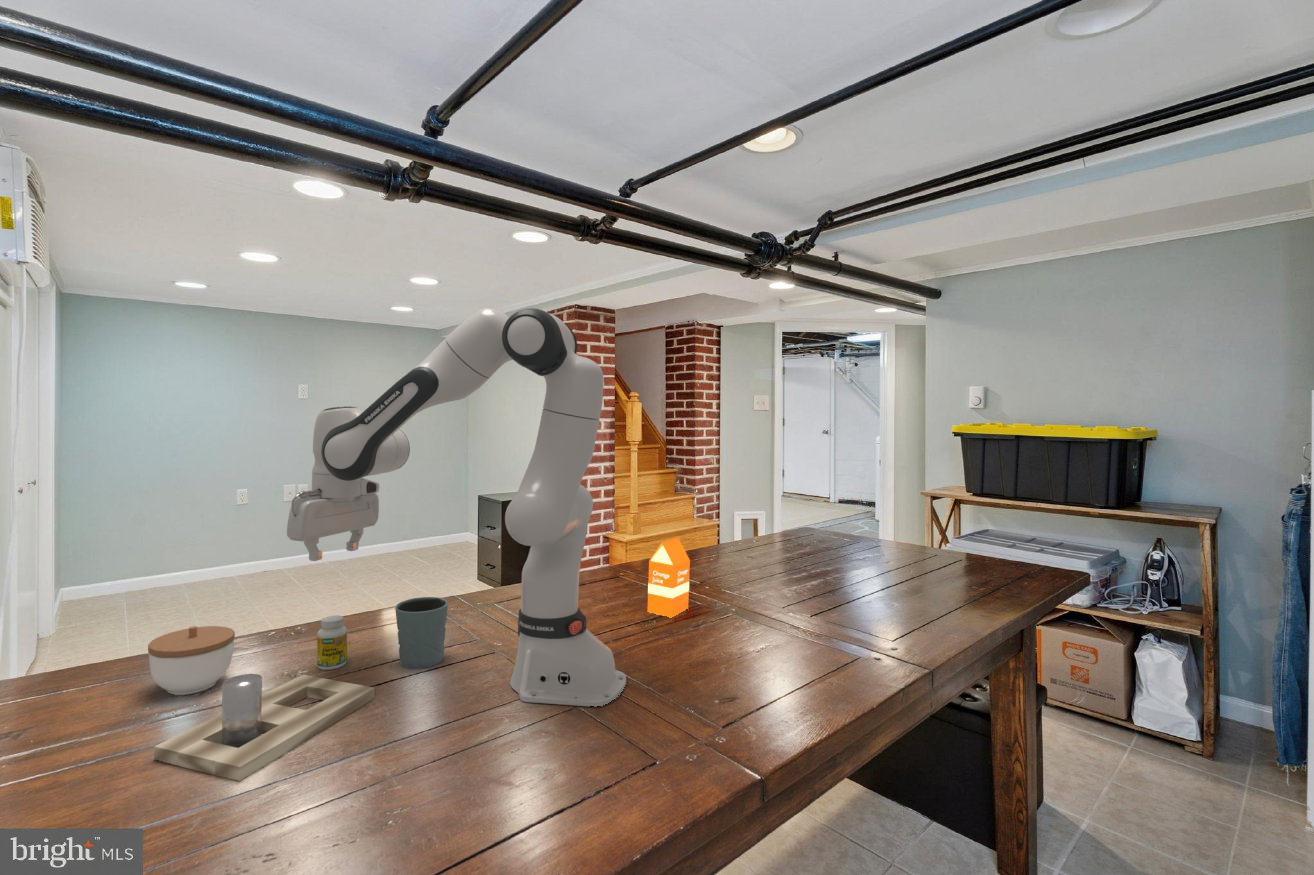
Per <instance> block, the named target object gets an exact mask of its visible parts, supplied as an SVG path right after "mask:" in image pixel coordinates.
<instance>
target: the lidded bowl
mask: <svg viewBox="0 0 1314 875" xmlns="http://www.w3.org/2000/svg"><path fill="white" fill-rule="evenodd" d="M235 636H236V633H235V630H234V629H233V628H230V627H227V626H220V625H219V626H218V625H216V626H215V625H211V626H210V625H207V626H194V625H193V626H189V627H188V628H185V629H180V630H176V631H172V632H169V633H165V634H163V635H160V636H158V637H156V638H154V639H153V640H151V641H150V642H149V643H148V646H147V653H148V664H149V670H150V671H149V672H150V674H151V677H152V679H153V680H154V683H156V684H157V686H159V687H160V688H162V689H163V690H166V691H167V694H169V693H171V694H174V695H173V696H186V695H193V694H199V693H201V692H204V691H206V690H209V689H211V688H212V687H214V686H215V685H216V684H217V681H218V680H220V679H221V678H222V677H223V676H224V675H225V673H226V672H227V670H228V669H229V667H230V664H231V662H232V658H233V654H234V649H235V647H234V645H235V644H234V643H235V642H234V641H235ZM171 694H170V695H171Z"/></svg>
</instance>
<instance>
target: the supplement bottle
mask: <svg viewBox="0 0 1314 875" xmlns="http://www.w3.org/2000/svg"><path fill="white" fill-rule="evenodd" d="M320 627H321V628H320V629H319V630H318V631H317V633H316V634H317V635H316V667H317V668H318V669H319V670H321V671H330V670H331V671H332V670H336V669H339V668H341V667H344V666H345V665H346V664H347V661H348V660H347V659H348V629H347V627H346V626H344V616H342V615H338V614H337V615H329V616H325V617H323V618H321V619H320Z"/></svg>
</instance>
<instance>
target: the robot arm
mask: <svg viewBox="0 0 1314 875" xmlns="http://www.w3.org/2000/svg"><path fill="white" fill-rule="evenodd" d="M577 341H578V340H577V338H576V335H575V333H574V331H573V330H572V328H571V327H570V326H568V324H566V323H565V322H564V321H563V320H562V319H560V318H559V317H557V316H556V315H554V314H552V313H551V312H547V311H545V310H542V309H539V308H535V307H534V308H531V307H530V308H523V309H521V310H518V311H515V312H514V313H513V314H511V315H510V316H508V315H507V314H506V313H505V312H503V311H501V310H499V309H497V308H494V307H483V308H481V309H479V310H478V311H476V312H474V313H473V314H472V315H470V316H469V317H468V318H466V319H465V320H463V322H461V323H460V324H459V325H458V326H456V328H454V329H453V330H452V331H451V332H450V333H449V334H448V335H447V336H446V337H445V338H444V339H443V340H442V341H441V342H440V343H439V344H438V345H437V346H436V347H434V349H433V350H432V351H431V352H430V353H429V354H428V355H427V356H426V357H425V358H424V359H423V360H421V361H420V363H418V364H417V365H415V367H413V368H412V369H411V370H410V371H409V372H407V373H406V374H405V375H404V376H402V377H401V378H400V379H399V380H397V381H396V382H395V383H394V384H393V385H392V386H390V387H389V388H388V389H387V390H386V391H385V392H383V394H381V395H380V396H379V397H377V399H375V401H373V403H371V404H370V405H369V406H368V407H367V408H365V410H364V411H363V410H362V409H360V408H359V407H356V406H336V407H335V406H334V407H329V408H324V409H323V410H321V411H320V412H319V413H318V415H317V416H316V420H315V423H314V428H313V439H312V441H313V442H312V454H313V455H314V464H313V467H312V469H311V470H312V471H311V490H307V491H306V490H303V491H299V492H298V493H297V495H295V496H294V498H292V499H291V506H290V509H289V513H288V518H287V524H286V525H287V526H286V535H287V536H286V537H287V538H288V539H289V540H290V541H294V542H295V541H297V542H303V545H304V546H305V548H306V549H307V551H308V559H309V561H310V562H317V561H321V560H322V559H323V550H319V548H318V545H317V544H320V538H325V537H329V536H334V535H337V534H338V535H339V534H342V533H346V532H350V533H351V534H350V538H349V541H346V544H345V545H346V548H345V550H346V551H348V552H354V551H357V550H359V544H360V543H359V542H360V541H361V538H362V537H363V534H364V528H369V527H373V526H376V524H377V522H378V521H379V515H380V514H379V512H380V500H379V495H378V494H377V493H379V491H380V483H379V482H376V481H373V480H370V479H367V478H365V477H368V476H369V477H370V476H376V475H381V474H385V473H386V474H387V473H392V472H394V471H396V470H399V469H401V468H402V467H403V466H404V465H406V462H407V461H408V460H409V456H410V454H411V453H410V451H411V447H410V441H409V439H408V437H407V435H406V434H405V433H404V432H403V431H402V430H401V428H402V427H403V426H404V425H405V424H406V423H408V421H410V419H412V418H413V417H414V416H416V414H418V413H421V412H422V411H423V410H426V409H428V408H431V407H434V406H437V405H442V404H446V403H450V402H455V401H459V400H463V399H465V398H467V397H468V396H469V395H471V394H473V393H474V392H475V391H477V390H478V389H480V388H481V387H482V386H483V385H485V383H486V382H487V381H489V379H490V378H491V377H492V376H493V375H494V374H495V373H496V372H497V371H498V370H499V369H500V368H501V367H502V366H503V365H504V364H506V363H508V362H509V361H514V362H516V364H518V365H519V366H521V367H523V368H525V369H527V370H529V371H531V372H532V373H534V374H535V375H537V376H541V377H543V378H544V380H545V386H546V387H545V388H546V390H545V394H544V401H543V407H542V411H541V416H540V421H539V427H538V431H537V436H536V441H535V444H534V445H535V446H534V449H533V453H532V454H531V455H532V456H531V458H530V461H529V462H528V466H527V468H526V470H525V472H524V475H523V478H522V480H521V482H520V484H519V485H520V486H519V488H518V490H517V491H516V494H515V496H514V497H513V498H512V499H511V501H510V502H509V504H508V505H507V507H506V511H505V515H504V523H505V528H506V530H507V532H508V534H509V536H510V537H511V538H512V539H513V540H514V541H516V542H517V543H519V544H521V545H523V546H526V547H527V546H528V547H530V548H529V551H528V555H527V558H526V561H525V563H523V564H524V565H523V568H522V571H521V586H520V587H521V591H520V592H521V594H520V596H521V597H520V608H519V610H518V619H517V634H518V635H517V636H518V643H517V645H518V646H517V653H516V656H515V657H516V658H515V663H514V664H515V665H514V667H513V671H512V675H511V678H510V681H509V684H510V686H511V688H512V689H513V690H514V691H515V692H516V693H518V696H519V699H520V701H522V702H523V703H535V704H550V705H551V704H552V705H565V706H577V707H590V706H594V708H598V707H597V706H601V707H604V706H606V705H605V704H607V705H609V704H610V703H609V702H611V701H612V700H614V699H615V700H616V699H617V698H619V696H620V695H621V694H622V693H623V692H624V690H625V688H626V686H627V676H626V673H624V672H623V671H619V670H617V669H616V665H615V664H616V663H615V659H614V654H613V651H612V649H611V648H610V647H608V646H607V645H606V644H605V643H604V642H603V641H601V640H600V639H599V638H597V636H596V635H595V634H593V633H592V632H591V631H590V630H589V629H587V625H588V624H587V621H589V619H590V612H588V613H586V614H584V613H583V612H582V611H581V609H580V608H579V594H580V593H579V592H580V591H579V590H580V572H581V563H582V558H583V553H584V549H585V548H584V547H585V543H586V538H587V531H588V526H589V521H590V518H591V515H592V513H593V509H594V500H593V497H592V495H591V493H590V491H589V489H587V488H586V487H585V486H584V485H582V484H581V482H582V480H583V478H584V474H585V473H586V470H587V469H588V467H589V464H590V463H591V461H592V459H593V455H594V450H595V444H596V439H597V435H598V430H599V424H600V419H601V415H602V414H601V413H602V409H603V398H604V372H603V370H602V368H601V366H600V365H599V364H598V363H597V362H596V361H594V360H593V359H590V358H589V357H585V356H581V355H578V354H577V353H578V342H577ZM625 685H626V686H625ZM624 687H625V688H624ZM623 689H624V690H623ZM622 691H623V692H622ZM621 692H622V693H621ZM620 693H621V694H620ZM618 695H619V696H618ZM616 697H617V698H616ZM615 700H614V701H615ZM612 702H613V701H612ZM612 702H611V703H612ZM608 703H609V704H608ZM603 705H604V706H603Z"/></svg>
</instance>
